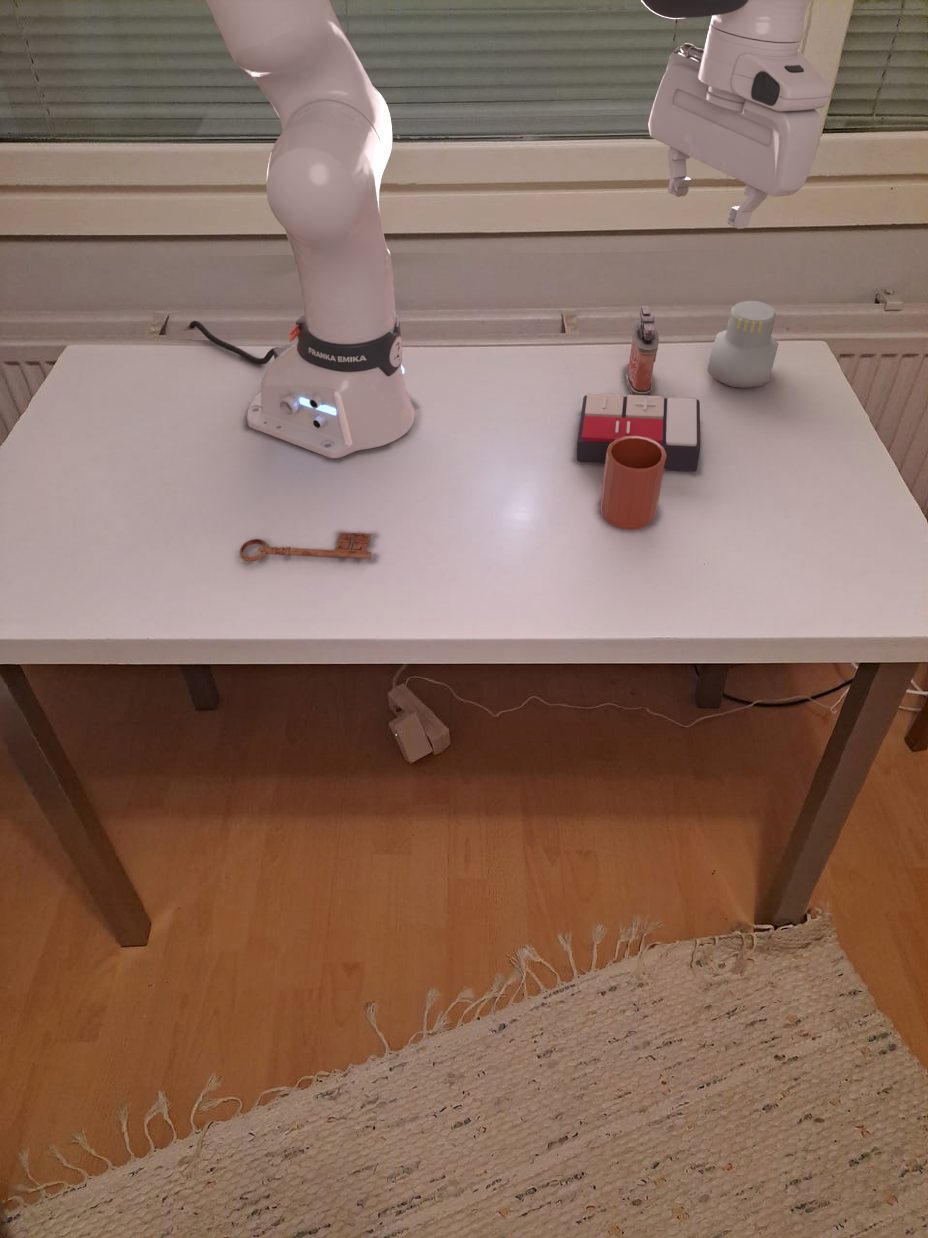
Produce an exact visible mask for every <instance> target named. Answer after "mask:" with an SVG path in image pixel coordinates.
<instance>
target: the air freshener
mask: <svg viewBox="0 0 928 1238" xmlns="http://www.w3.org/2000/svg"><path fill="white" fill-rule="evenodd" d="M776 317H777V313H776V311H775V309H774V308H773V307H772V306H770V305H769V304H767V303H764V302H762V301H757V300H744V301H740V302H738V303H736V304H734V305H733V306H732V307H731V309H730V312H729V318H728V322H727V326H726V329H723V330H722V331H720V332H718V333H717V334H716V337H715V339H714V342H713V345H712V349H711V353H710V357H709V360H708V365H707V372H708V373H709V375H710V376H712V377H713V378H714V379H715V380H717V381H718V382H720V383H721V384H724V385H727V386H730V387H734V388H740V389H741V388H742V389H743V388H746V389H748V388H755V387H760V386H763V385H766V384H767V383H769V381H770V376H771V373H772V371H773V366H774V362H775V358H776V355H777V352H778V348H779V342H778V341H777V340H776V339H775V338H774V337H773V336H772V334H773V330H774V325H775V321H776Z"/></svg>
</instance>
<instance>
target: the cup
mask: <svg viewBox="0 0 928 1238" xmlns="http://www.w3.org/2000/svg"><path fill="white" fill-rule="evenodd" d="M666 458H667V455H666V452H665V449H664V448H663V447H662V446H661V445H660V444H659V443H658V442H656V441H654V440H651V439H649V438H645V437H640V436H626V437H622V438H619V439H616V440H615V441H613V442H612V443H611V444H610V445H609V447H608V449H607V453H606V461H605V463H604V469H603V477H602V486H601V493H600V503H599V512H600V515H601V517H602V519H603V520H604V521H605V522H606V523H608V524H610V525H611V526H613V527H615V528H619V529H623V530H639V529H643V528H646V527H647V526H649V525H650V524H652V522H653V521H654V520H655V518H656V515H657V511H658V508H659V507H658V506H659V500H660V495H661V492H662V491H661V490H662V484H663V481H664V480H663V479H664V475H665V470H666V469H665V463H666Z"/></svg>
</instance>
